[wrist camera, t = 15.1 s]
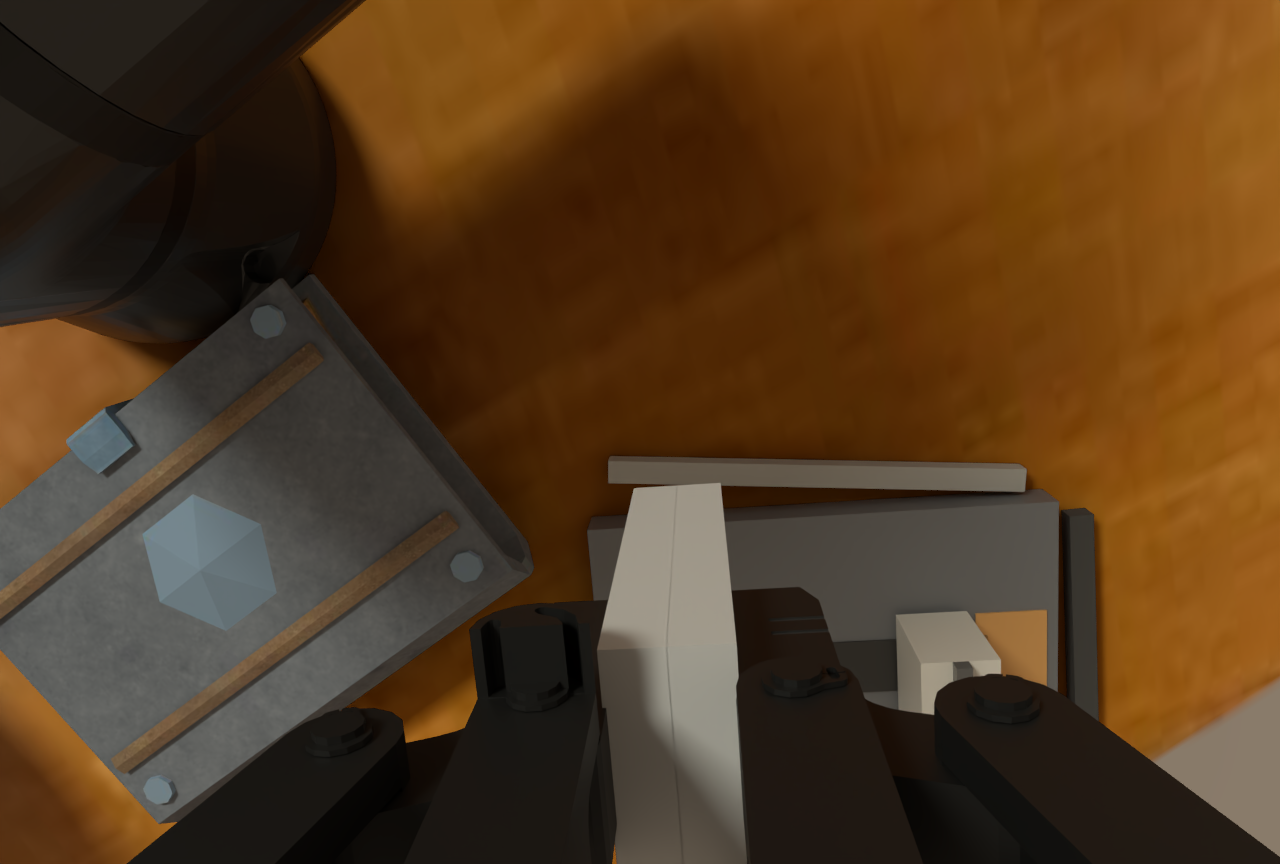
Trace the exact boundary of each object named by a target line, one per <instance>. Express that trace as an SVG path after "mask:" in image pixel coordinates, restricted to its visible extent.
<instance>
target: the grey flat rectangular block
mask: <svg viewBox="0 0 1280 864" xmlns="http://www.w3.org/2000/svg"><path fill="white" fill-rule="evenodd" d="M723 512H724V522H725V532H726V542H727V552H728V562H729V573H730V583H731V590H749V589H768V588H787V587H801V588H802V589H804V590H805V591H807V592H808V593H809V594H811V595H812V596H814V597H815V598H817V599H818V600H819V602H820V605H821V608H822V611H823V614H824V619H825V620H826V623H827V626H828V631H829V632H830V635H831V638H832V641H833V644H834V648H835V651H836V654H837V657H838V660H839V663H840V665H841V666H843V667H845V668H847V669H849V670H851V671H852V673H853V674H854V675H855V676H856V678H857V679H858V680H859V683H860V686H861V689H862V691H863V694H864V697H865V699H867V700H868V701H870V702H872V703H875V704H878V705H881V706H885V707H888V708H892V709H897V710H899V708H898V674H897V640H896V615H900V614H918V613H937V612H956V611H967V612H968V613H969V615H970V616H971V618H972V619H973V621H974V622H975V623H976V625H977V626H978V628H979V629H980V631H981V632H982V633H983V635H984V636H985V638H986V639H987V641H988V642H989V643H990V645H991V646H992V648H993V649H994V651H995V652H996V653H997V655H998V656H999V658H1000V659H1001V674H1003V676H1006V674H1007V675H1014V676H1019V677H1022V678H1023V679H1026V680H1029V681H1033V682H1036V683H1040V684H1043V685H1046V686H1047V687H1049V688H1051V689H1053V690H1055V691H1057V692H1058V554H1059V501H1057V500H1056V499H1055V498H1053V497H1052V496H1051V495H1050V494H1048V493H1047V492H1046V491H1044V490H1043V489H1034V490H1025V492H1007V491H1002V492H986V493H970V494H953V495H937V496H921V497H905V498H889V499H872V500H856V501H840V502H824V503H808V504H792V505H775V506H759V507H743V508H727V509H723ZM627 516H628V515H614V516H597V517H592V518H591V521H590V523H589V526H588V529H587V535H588V545H589V556H590V566H591V577H592V587H593V597H594V601H595V600H609V595H610V591H611V586H612V582H613V578H614V573H615V569H616V564H617V560H618V556H619V551H620V547H621V543H622V538H623V534H624V529H625V525H626V521H627Z"/></svg>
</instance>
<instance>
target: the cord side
mask: <svg viewBox="0 0 1280 864" xmlns="http://www.w3.org/2000/svg"><path fill="white" fill-rule="evenodd" d="M1061 512H1062V545H1063V577H1064V610H1065V643H1066V676H1067V698H1068V699H1069V700H1071V701H1072V702H1073V703H1075V704H1076V705H1077V706H1079V707H1080V708H1081V709H1083V710H1084V711H1085V712H1087V713H1088V714H1089V715H1091V716H1092V717H1093V718H1095V719H1096V720H1097V721H1099V717H1098V675H1097V632H1096V590H1095V547H1094V514H1092V513H1091V512H1090V511H1088V510H1087V509H1085V508H1079V509H1068V510H1061Z"/></svg>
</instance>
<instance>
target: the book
mask: <svg viewBox="0 0 1280 864" xmlns="http://www.w3.org/2000/svg"><path fill="white" fill-rule="evenodd" d="M67 445H68V446H69V447H70V449H71V451H70V452H69V453H68V454H66V455H65V456H64V457H63V458H61V459H60V460H59V461H58V462H57V463H55V464H54V465H53V466H52V467H51V468H49V469H48V470H47V471H46V472H45V473H43V474H42V475H41V476H40V477H39V478H37V479H36V480H35V481H34V482H32V483H31V484H30V485H29V486H28V487H26V488H25V489H24V490H23V491H22V492H20V493H19V494H18V495H17V496H16V497H14V498H13V499H12V500H11V501H9V502H8V503H7V504H6V505H5V506H3V507H2V508H1V509H0V650H1V651H2V652H3V653H4V654H5V655H6V656H7V657H8V658H9V660H10V661H11V662H12V663H13V664H14V665H15V666H16V667H17V668H18V669H19V671H20V672H21V673H22V674H23V675H24V676H25V677H26V678H27V679H28V680H29V682H30V683H31V684H32V685H33V686H34V687H35V688H36V689H37V690H38V691H39V693H40V694H41V695H42V696H43V697H44V698H45V699H46V700H47V701H48V702H49V704H50V705H51V706H52V707H53V708H54V709H55V710H56V711H57V712H58V714H59V715H60V716H61V717H62V718H63V719H64V720H65V721H66V722H67V723H68V725H69V726H70V727H71V728H72V729H73V730H74V731H75V732H76V733H77V734H78V736H79V737H80V738H81V739H82V740H83V741H84V742H85V743H86V744H87V745H88V747H89V748H90V749H91V750H92V751H93V752H94V753H95V754H96V755H97V756H98V758H99V759H100V760H101V761H102V762H103V763H104V764H105V765H106V766H107V767H108V769H109V770H110V771H111V772H112V773H113V774H114V775H115V776H116V777H117V778H118V780H119V781H120V782H121V783H122V784H123V785H124V786H125V787H126V788H127V789H128V791H129V792H130V793H131V794H132V795H133V796H134V797H135V798H136V799H137V800H138V802H139V803H140V804H141V805H142V806H143V807H144V808H145V809H146V810H147V811H148V813H149V814H150V815H151V816H152V817H153V818H154V819H155V820H156V821H157V822H158V824H161V823H171V822H179V821H180V820H181V819H182V818H184V817H185V816H186V815H187V814H189V813H190V812H191V811H192V810H194V809H195V808H196V807H197V806H198V805H200V804H201V803H202V802H203V801H205V800H206V799H207V798H208V797H210V796H211V795H212V794H213V793H214V792H216V791H217V790H218V789H219V788H221V787H222V786H223V785H224V784H226V783H227V782H228V781H229V780H230V779H232V778H233V777H234V776H235V775H237V774H238V773H239V772H240V771H242V770H243V769H244V768H245V767H246V766H248V765H249V764H250V763H251V762H253V761H254V760H255V759H256V758H258V757H259V756H260V755H261V754H262V753H264V752H265V751H266V750H267V749H269V748H270V747H271V746H272V745H274V744H275V743H276V742H277V741H278V740H280V739H281V738H282V737H283V736H285V735H286V734H287V733H289V732H290V731H292V730H294V729H295V728H297V727H299V726H300V725H302V724H303V723H305V722H308V721H310V720H313V719H315V718H318V717H321V716H322V715H323V714H325V713H327V712H330V711H334V710H338V709H339V711H341V710H342V709H343V708H345V707H346V706H348V705H349V704H351V703H352V702H353V701H355V700H356V699H358V698H359V697H360V696H362V695H363V694H365V693H366V692H367V691H369V690H370V689H372V688H373V687H374V686H376V685H377V684H379V683H380V682H381V681H383V680H384V679H386V678H387V677H388V676H390V675H391V674H393V673H394V672H395V671H397V670H398V669H400V668H401V667H402V666H404V665H405V664H407V663H408V662H409V661H411V660H412V659H414V658H415V657H416V656H418V655H419V654H421V653H422V652H423V651H425V650H426V649H428V648H429V647H431V646H432V645H433V644H435V643H436V642H438V641H439V640H440V639H442V638H443V637H445V636H446V635H447V634H449V633H450V632H452V631H453V630H454V629H456V628H457V627H459V626H460V625H461V624H463V623H464V622H466V621H467V620H468V619H470V618H471V617H473V616H474V615H475V614H477V613H478V612H480V611H481V610H482V609H484V608H485V607H487V606H488V605H489V604H491V603H492V602H494V601H495V600H496V599H498V598H499V597H501V596H502V595H503V594H505V593H506V592H508V591H509V590H510V589H512V588H513V587H515V586H516V585H517V584H519V583H520V582H522V581H523V580H524V579H526V578H527V577H529V576H530V575H531V574H532V572H533V569H534V564H533V560H532V556H531V552H530V548H529V544H528V541H527V540H526V539H525V538H524V536H523V535H522V534H521V533H520V531H519V530H518V529H517V528H516V526H515V525H514V524H513V523H512V521H511V520H510V519H509V518H508V516H507V515H506V514H505V513H504V511H503V510H502V509H501V508H500V506H499V505H498V504H497V503H496V501H495V500H494V499H493V498H492V496H491V495H490V494H489V493H488V491H487V490H486V489H485V488H484V486H483V485H482V484H481V483H480V481H479V480H478V479H477V478H476V476H475V475H474V474H473V473H472V471H471V470H470V469H469V468H468V466H467V465H466V464H465V463H464V461H463V460H462V459H461V458H460V456H459V455H458V454H457V453H456V451H455V450H454V449H453V448H452V446H451V445H450V444H449V443H448V441H447V440H446V439H445V438H444V436H443V435H442V434H441V433H440V431H439V430H438V429H437V427H436V426H435V425H434V424H433V422H432V421H431V420H430V419H429V417H428V416H427V415H426V414H425V412H424V411H423V410H422V409H421V407H420V406H419V405H418V404H417V402H416V401H415V400H414V399H413V397H412V396H411V395H410V394H409V392H408V391H407V390H406V389H405V387H404V386H403V385H402V384H401V382H400V381H399V380H398V379H397V377H396V376H395V375H394V374H393V372H392V371H391V370H390V369H389V367H388V366H387V365H386V364H385V362H384V361H383V360H382V359H381V357H380V356H379V355H378V354H377V352H376V351H375V350H374V349H373V347H372V346H371V345H370V344H369V342H368V341H367V340H366V339H365V337H364V336H363V335H362V334H361V332H360V331H359V330H358V329H357V327H356V326H355V325H354V324H353V322H352V321H351V320H350V319H349V317H348V316H347V315H346V314H345V312H344V311H343V310H342V309H341V307H340V306H339V305H338V304H337V302H336V301H335V300H334V299H333V297H332V296H331V295H330V293H329V292H328V291H327V290H326V288H325V287H324V286H323V285H322V283H321V282H320V281H319V280H318V278H317V277H316V276H315V275H314V274H311V275H308V276H307V277H306V278H304V279H303V280H302V281H301V282H300V283H298V284H297V285H296V286H295V287H294V288H292V289H291V288H290V286H289V285H288V284H287V283H286V281H285V280H284V279H283V278H281V279H278V280H277V281H276V282H274V283H273V284H272V285H271V286H269V287H268V288H267V289H266V290H265V291H263V292H262V293H261V294H260V295H259V296H257V297H256V298H255V299H254V300H253V301H251V302H250V303H249V304H248V305H247V306H245V307H244V308H243V309H242V310H240V311H239V312H238V313H237V314H236V315H234V316H233V317H232V318H231V319H230V320H228V321H227V322H226V323H225V324H224V325H222V326H221V327H220V328H219V329H217V330H216V331H215V332H214V333H213V334H211V335H210V336H209V337H208V338H207V339H205V340H204V341H203V342H202V343H201V344H199V345H198V346H197V347H196V348H195V349H193V350H192V351H191V352H190V353H188V354H187V355H186V356H185V357H184V358H182V359H181V360H180V361H179V362H178V363H176V364H175V365H174V366H173V367H172V368H170V369H169V370H168V371H167V372H165V373H164V374H163V375H162V376H161V377H159V378H158V379H157V380H156V381H155V382H153V383H152V384H151V385H150V386H149V387H147V388H146V389H145V390H144V391H143V392H141V393H140V394H139V395H138V396H136V397H135V398H134V399H131V400H127V401H124V402H121V403H118V404H115V405H111V406H108V407H105V408H104V409H103V410H101V411H100V412H99V413H98V414H97V415H95V416H94V417H93V418H92V419H91V420H89V421H88V422H87V423H86V424H85V425H83V426H82V427H81V428H80V429H79V430H77V431H76V432H75V433H74V434H73V435H71V436H70V437H69V438H68V439H67Z"/></svg>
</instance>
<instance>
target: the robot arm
mask: <svg viewBox="0 0 1280 864" xmlns="http://www.w3.org/2000/svg"><path fill="white" fill-rule="evenodd" d="M364 1H366V0H0V327H4V326H10V325H16V324H23V323H29V322H36V321H42V320H49V319H54V318H56V319H59V320H61V321H64V322H67V323H70V324H73V325H76V326H78V327H81V328H84V329H87V330H90V331H92V332H95V333H98V334H101V335H104V336H108V337H112V338H115V339H121V340H126V341H132V342H141V343H177V342H185V341H191V340H196V339H200V338H205V337H209V336H210V335H211V334H213V333H214V332H215V331H216V330H217V329H219V328H220V327H221V326H222V325H224V324H225V323H226V322H227V321H228V320H230V319H231V318H232V317H233V316H234V315H236V314H237V313H238V312H239V311H240V310H242V309H243V308H244V307H245V306H247V305H248V304H249V303H250V302H251V301H253V300H254V299H255V298H256V297H257V296H259V295H260V294H261V293H262V292H263V291H265V290H266V289H267V288H268V287H269V286H271V285H272V284H273V283H274V282H276V281H277V280H278V279H281V278H283V279H284V280H285V281H286V283H287V284H288V285H289V286H290V288H291V289H292V288H294V287H295V286H296V285H297V284H298V283H300V282H301V280H302V279H303V278H304V276H305V275H306V274H307V272H308V270H309V269H310V267H311V266H312V264H313V262H314V261H315V259H316V257H317V255H318V253H319V251H320V249H321V246H322V244H323V242H324V239H325V236H326V233H327V231H328V228H329V224H330V220H331V216H332V211H333V206H334V199H335V190H336V160H335V150H334V144H333V138H332V133H331V129H330V125H329V121H328V118H327V114H326V111H325V108H324V106H323V103H322V101H321V98H320V96H319V93H318V91H317V89H316V87H315V85H314V83H313V81H312V79H311V77H310V75H309V74H308V72H307V70H306V68H305V67H304V65H303V64H302V62H301V61H300V59H299V57H300V56H301V55H302V54H304V53H305V52H306V51H307V50H308V49H309V48H311V47H312V46H313V45H314V44H315V43H316V42H318V41H319V40H320V39H321V38H322V37H323V36H325V35H326V34H327V33H328V32H329V31H330V30H332V29H333V28H334V27H335V26H336V25H338V24H339V23H340V22H341V21H342V20H343V19H345V18H346V17H347V16H348V15H349V14H350V13H352V12H353V11H354V10H355V9H356V8H357V7H359V6H360V5H361V4H362V3H363V2H364ZM469 631H470V639H471V648H472V656H473V664H474V672H475V680H476V688H477V697H478V700H477V702H476V704H475V706H474V709H473V711H472V713H471V715H470V717H469V720H468V722H467V724H466V726H465V728H463V729H461V730H458V731H455V732H452V733H448V734H444V735H441V736H437V737H432V738H427V739H423V740H418V741H413V742H409V743H406V742H405V735H404V728H403V721H402V719H400V718H399V717H398V716H396V715H395V714H394V713H392V712H389V711H384V710H380V709H375V708H367V709H358V708H356V707H351V708H343V709H342V711H339V709H338V710H334V711H330V712H327V713H325V714H323V715H322V716H321V717H318V718H315V719H313V720H310V721H308V722H305V723H303V724H302V725H300V726H299V727H297V728H295V729H294V730H292V731H290V732H289V733H287V734H286V735H285V736H283V737H282V738H281V739H280V740H278V741H277V742H276V743H275V744H274V745H272V746H271V747H270V748H269V749H267V750H266V751H265V752H264V753H262V754H261V755H260V756H259V757H258V758H256V759H255V760H254V761H253V762H251V763H250V764H249V765H248V766H246V767H245V768H244V769H243V770H242V771H240V772H239V773H238V774H237V775H235V776H234V777H233V778H232V779H230V780H229V781H228V782H227V783H226V784H224V785H223V786H222V787H221V788H219V789H218V790H217V791H216V792H214V793H213V794H212V795H211V796H210V797H208V798H207V799H206V800H205V801H203V802H202V803H201V804H200V805H198V806H197V807H196V808H195V809H194V810H192V811H191V812H190V813H189V814H187V815H186V816H185V817H184V818H182V819H181V820H180V821H179V822H178V823H176V824H175V825H174V826H173V827H171V828H170V829H169V830H168V831H166V832H165V833H164V834H163V835H162V836H160V837H159V838H158V839H157V840H155V841H154V842H153V843H152V844H150V845H149V846H148V847H147V848H146V849H144V850H143V851H142V852H141V853H139V854H138V855H137V856H136V857H134V858H133V859H132V860H131V861H130V862H128V863H127V864H612V859H613V852H614V844H615V849H616V859H617V864H1280V857H1279V856H1278V855H1277V854H1275V853H1274V852H1272V851H1271V850H1270V849H1268V848H1267V847H1266V846H1264V845H1263V844H1262V843H1260V842H1259V841H1257V840H1256V839H1255V838H1254V837H1252V836H1251V835H1250V834H1248V833H1247V832H1246V831H1244V830H1243V829H1242V828H1240V827H1239V826H1238V825H1236V824H1235V823H1234V822H1232V821H1231V820H1230V819H1228V818H1227V817H1226V816H1224V815H1223V814H1222V813H1220V812H1219V811H1218V810H1216V809H1215V808H1214V807H1212V806H1211V805H1209V804H1208V803H1207V802H1206V801H1204V800H1203V799H1201V798H1200V797H1199V796H1198V795H1196V794H1195V793H1194V792H1192V791H1191V790H1189V789H1188V788H1187V787H1185V786H1184V785H1183V784H1182V783H1180V782H1179V781H1177V780H1176V779H1175V778H1174V777H1172V776H1171V775H1170V774H1168V773H1167V772H1166V771H1164V770H1163V769H1161V768H1160V767H1159V766H1158V765H1156V764H1155V763H1154V762H1152V761H1151V760H1150V759H1148V758H1147V757H1145V756H1144V755H1143V754H1141V753H1140V752H1139V751H1137V750H1136V749H1135V748H1133V747H1132V746H1131V745H1129V744H1128V743H1127V742H1125V741H1124V740H1123V739H1121V738H1120V737H1119V736H1117V735H1116V734H1115V733H1113V732H1112V731H1111V730H1109V729H1108V728H1107V727H1105V726H1104V725H1103V724H1101V723H1100V722H1099V721H1097V720H1096V719H1095V718H1093V717H1092V716H1091V715H1089V714H1088V713H1087V712H1085V711H1084V710H1083V709H1081V708H1080V707H1079V706H1077V705H1076V704H1075V703H1073V702H1072V701H1071V700H1069V699H1068V698H1067V697H1065V696H1064V695H1062V694H1061V693H1059V692H1057V691H1055V690H1053V689H1051V688H1049V687H1047V686H1046V685H1043V684H1040V683H1036V682H1033V681H1029V680H1026V679H1023V678H1022V677H1019V676H1014V675H1007V674H1006V676H1003V674H986V675H985V676H974V677H967V678H963V679H960V680H957V681H953V682H950V683H948V684H947V685H946V686H944V687H943V688H941V689H940V690H939V691H937V694H936V698H935V702H934V715H932V714H924V713H916V712H908V711H903V710H897V709H892V708H888V707H885V706H881V705H878V704H875V703H872V702H870V701H868V700H867V699H865V697H864V694H863V691H862V689H861V686H860V683H859V680H858V679H857V678H856V676H855V675H854V674H853V673H852V671H851V670H849V669H847V668H845V667H843V666H841V665H840V663H839V660H838V657H837V654H836V651H835V648H834V644H833V641H832V638H831V635H830V632H829V631H828V626H827V623H826V620H825V619H824V614H823V611H822V608H821V605H820V602H819V600H818V599H817V598H815V597H814V596H812V595H811V594H809V593H808V592H807V591H805V590H804V589H802V588H801V587H787V588H768V589H749V590H731V583H730V573H729V562H728V552H727V542H726V532H725V522H724V512H723V502H722V492H721V483H709V484H693V485H677V486H661V487H644V488H634V490H633V494H632V499H631V503H630V508H629V512H628V516H627V521H626V525H625V529H624V534H623V538H622V543H621V547H620V551H619V556H618V560H617V564H616V569H615V573H614V578H613V582H612V586H611V591H610V595H609V600H595V601H577V602H558V603H554V604H551V603H536V604H528V605H520V606H514V607H511V608H507V609H504V610H500V611H497V612H494V613H492V614H490V615H488V616H486V617H484V618H482V619H480V620H478V621H477V622H476V623H475V624H474V625H473V626H472V627H471V628H470V629H469Z"/></svg>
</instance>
